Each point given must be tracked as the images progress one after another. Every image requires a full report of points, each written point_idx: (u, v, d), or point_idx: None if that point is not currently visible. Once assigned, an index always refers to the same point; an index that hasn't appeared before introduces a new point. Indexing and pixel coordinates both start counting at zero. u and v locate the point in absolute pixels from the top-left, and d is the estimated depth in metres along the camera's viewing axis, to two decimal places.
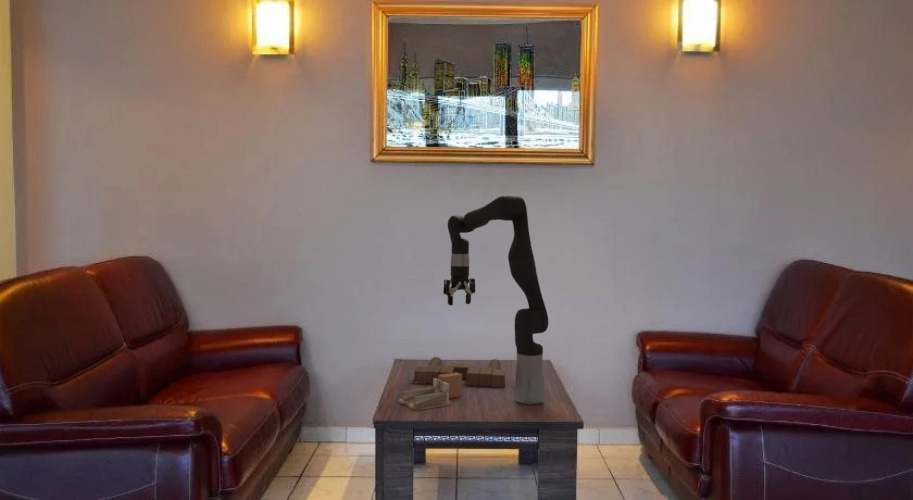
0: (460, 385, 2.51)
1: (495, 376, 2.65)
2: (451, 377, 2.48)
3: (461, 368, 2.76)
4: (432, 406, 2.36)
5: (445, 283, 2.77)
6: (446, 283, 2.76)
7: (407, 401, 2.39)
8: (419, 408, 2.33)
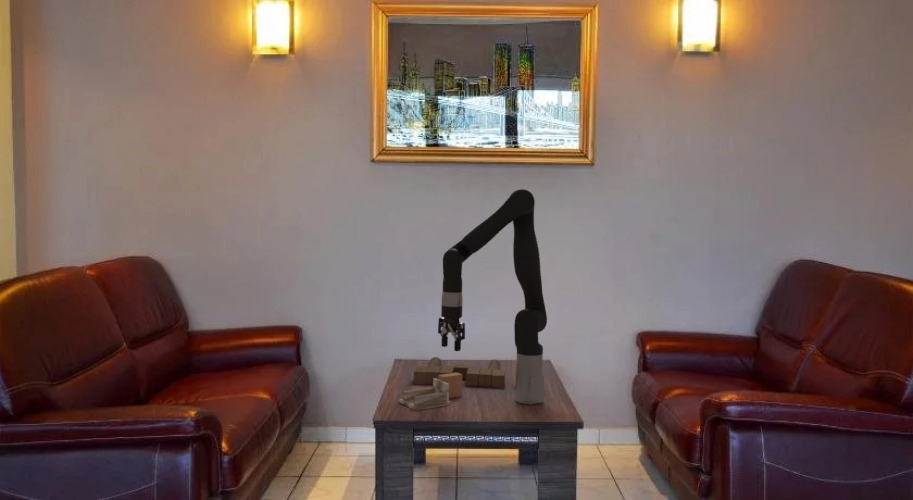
0: (460, 385, 2.51)
1: (495, 376, 2.64)
2: (451, 377, 2.48)
3: (461, 368, 2.75)
4: (432, 406, 2.36)
5: (461, 327, 2.43)
6: (463, 327, 2.44)
7: (407, 401, 2.39)
8: (419, 408, 2.33)
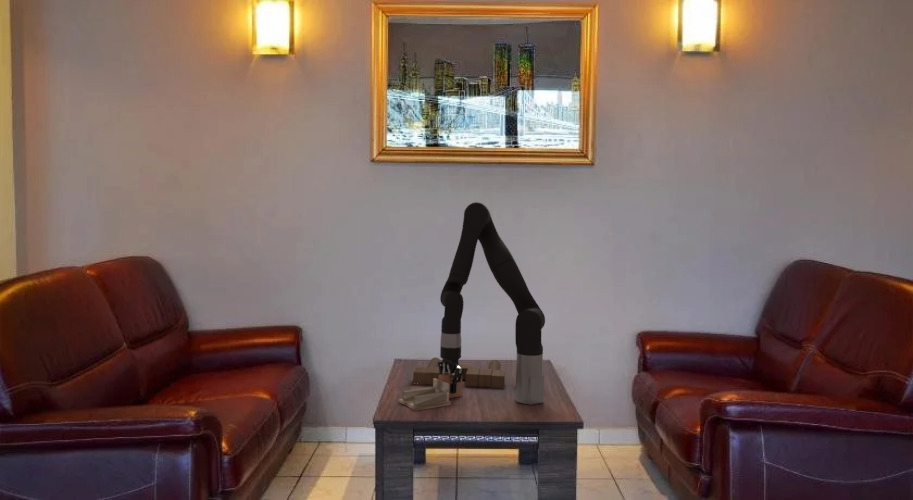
0: (460, 385, 2.51)
1: (495, 377, 2.63)
2: None
3: None
4: (432, 406, 2.36)
5: (459, 372, 2.45)
6: (461, 372, 2.45)
7: (407, 401, 2.39)
8: (419, 408, 2.33)
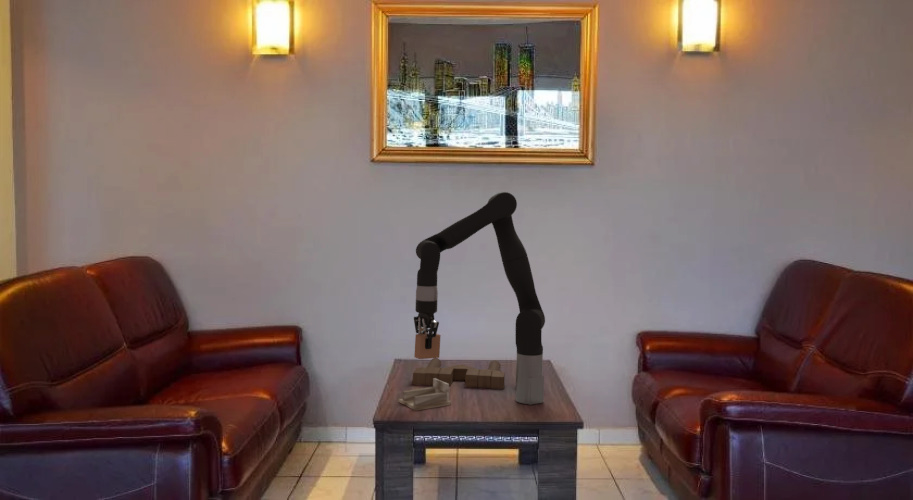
0: (438, 346, 2.41)
1: (494, 378, 2.63)
2: None
3: (460, 369, 2.74)
4: (432, 406, 2.36)
5: (434, 326, 2.35)
6: (436, 326, 2.35)
7: (407, 401, 2.39)
8: (419, 408, 2.33)
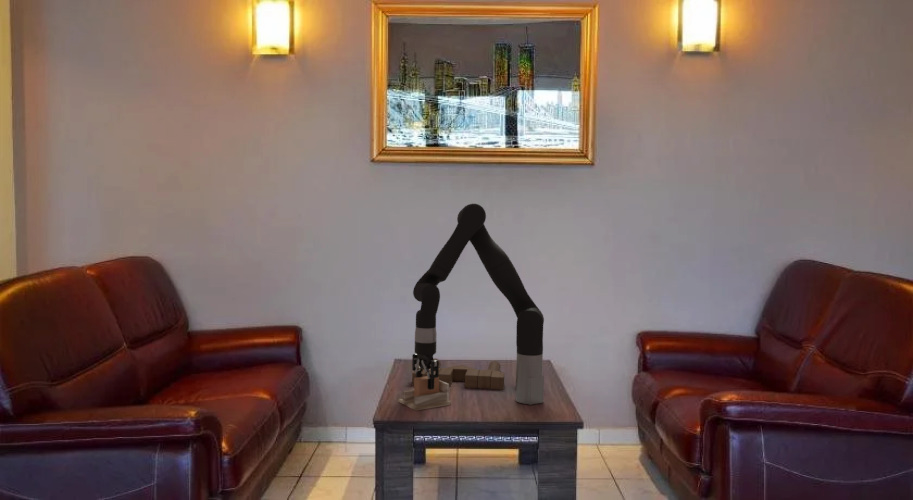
0: (437, 388, 2.42)
1: (494, 378, 2.62)
2: (427, 380, 2.39)
3: (460, 370, 2.73)
4: (432, 406, 2.36)
5: (435, 365, 2.35)
6: (437, 364, 2.35)
7: (407, 401, 2.39)
8: (419, 408, 2.33)
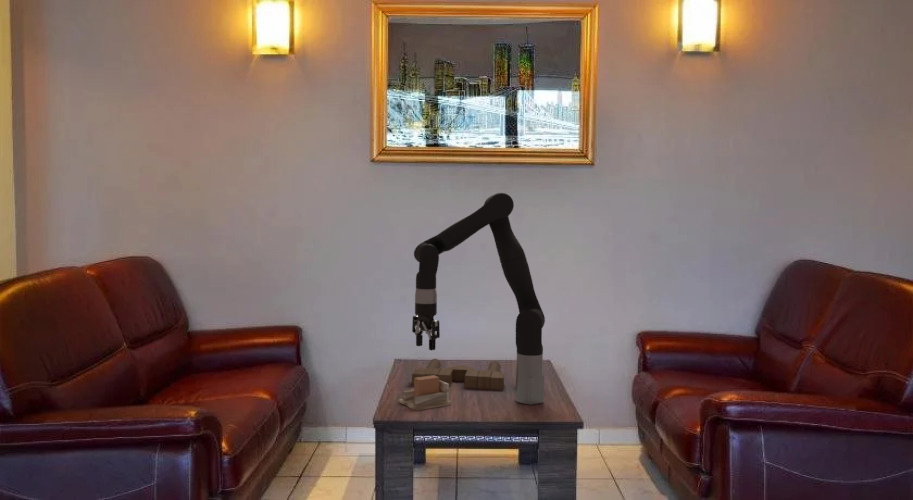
0: (437, 388, 2.42)
1: (494, 379, 2.61)
2: (427, 380, 2.39)
3: (460, 370, 2.72)
4: (432, 406, 2.36)
5: (436, 325, 2.33)
6: (437, 324, 2.34)
7: (407, 401, 2.39)
8: (419, 408, 2.33)
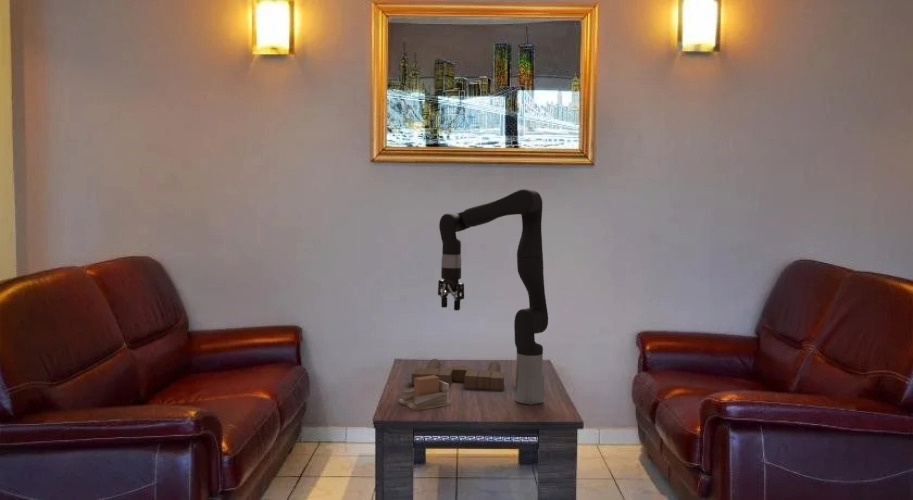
0: (437, 388, 2.42)
1: (494, 379, 2.61)
2: (427, 380, 2.39)
3: (459, 371, 2.72)
4: (432, 406, 2.36)
5: (461, 287, 2.57)
6: (462, 287, 2.57)
7: (407, 401, 2.39)
8: (419, 408, 2.33)
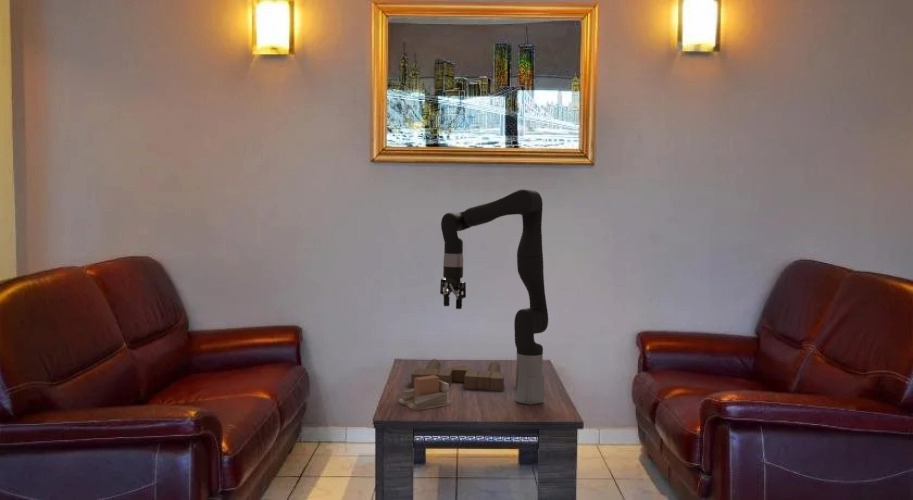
0: (437, 388, 2.42)
1: (493, 379, 2.60)
2: (427, 380, 2.39)
3: (459, 371, 2.71)
4: (432, 406, 2.36)
5: (462, 286, 2.58)
6: (464, 285, 2.59)
7: (407, 401, 2.39)
8: (419, 408, 2.33)
